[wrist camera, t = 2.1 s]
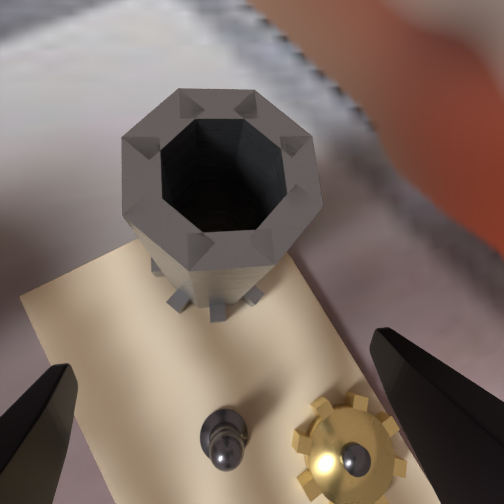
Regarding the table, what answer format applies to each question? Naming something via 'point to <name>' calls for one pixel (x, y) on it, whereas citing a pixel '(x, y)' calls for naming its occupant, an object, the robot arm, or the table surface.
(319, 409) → the brass gear
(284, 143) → the grey octagonal tube
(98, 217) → the table surface
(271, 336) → the gear board
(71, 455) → the table surface
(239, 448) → the steel peg
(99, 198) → the table surface
